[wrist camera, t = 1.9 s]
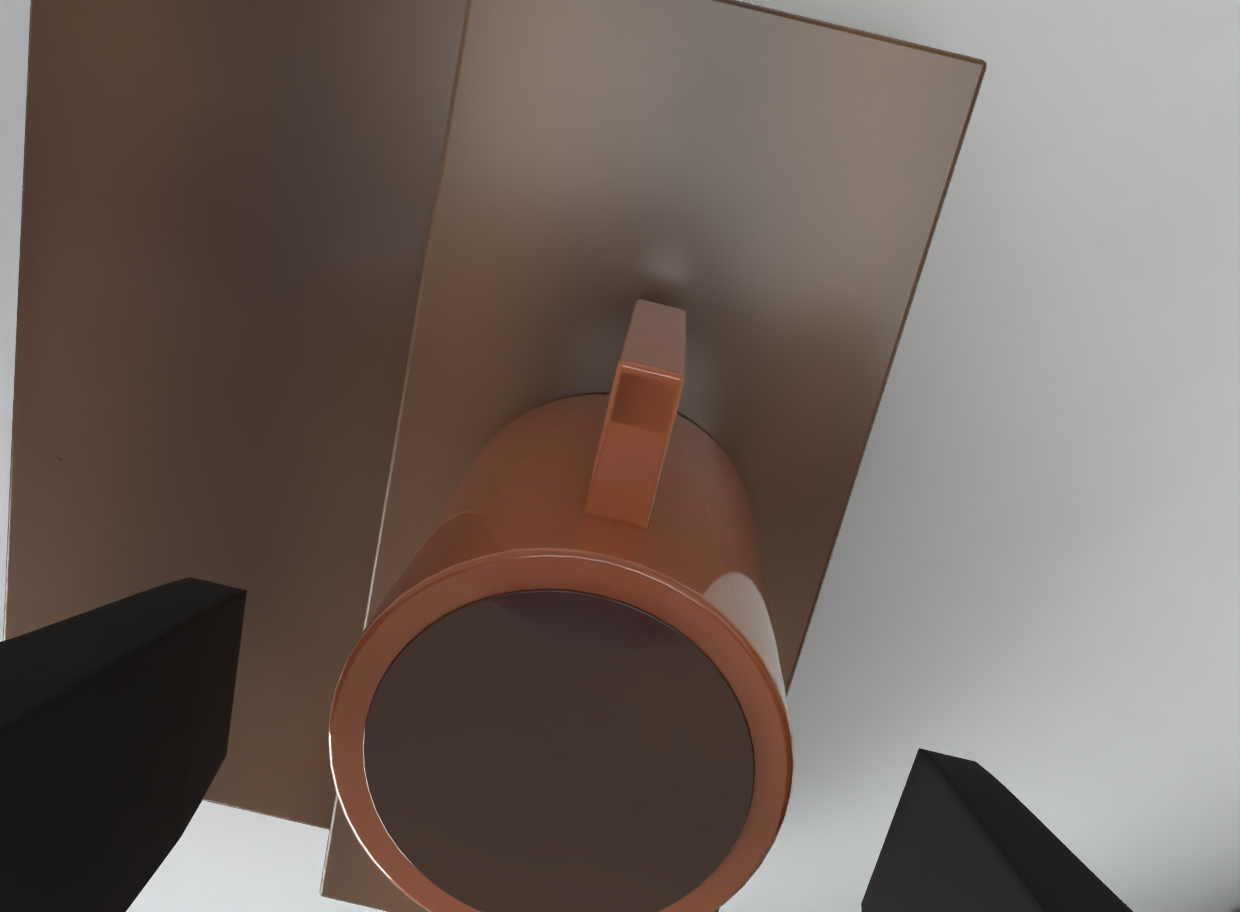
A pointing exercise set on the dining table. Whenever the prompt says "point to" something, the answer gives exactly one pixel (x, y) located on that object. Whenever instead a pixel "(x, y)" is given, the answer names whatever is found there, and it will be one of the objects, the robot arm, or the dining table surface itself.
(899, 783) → the dining table surface
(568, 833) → the double-handled copper mug
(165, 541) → the brown slab
